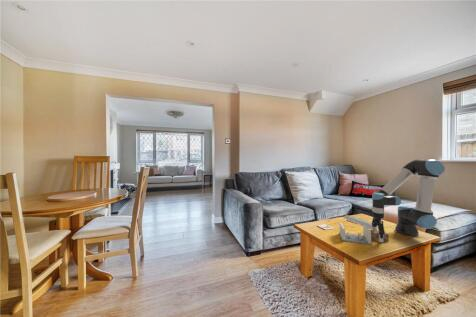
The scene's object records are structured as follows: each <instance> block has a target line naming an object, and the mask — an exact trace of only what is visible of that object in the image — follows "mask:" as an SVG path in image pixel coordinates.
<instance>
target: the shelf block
mask: <svg viewBox="0 0 476 317" xmlns="http://www.w3.org/2000/svg"><path fill="white" fill-rule="evenodd" d="M369 230H370V231H371V241H378V242H379V234H378V233H379V230H378V229H377V230H373V229H369ZM384 232H385V234H383V242H389V233H388V232H387V231H385V230H384Z"/></svg>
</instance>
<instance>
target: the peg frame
mask: <svg viewBox="0 0 476 317" xmlns="http://www.w3.org/2000/svg"><path fill="white" fill-rule="evenodd" d="M370 230H371V229H369V228H367V226H366V225H363V226H362V233H363V234H362V233H359V232H358V233H357V234H354V233H350V232H349V231H346V227H345V226H344V225H343V223H342V222H339V232H338V235H339V236H340V239H341V242H348V243H355V244H363V245H371V246H372V245H373V242H372V240H371V231H370Z"/></svg>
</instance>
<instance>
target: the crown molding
mask: <svg viewBox="0 0 476 317" xmlns="http://www.w3.org/2000/svg"><path fill="white" fill-rule="evenodd" d="M343 219H345V220H347V221H349V220H350V222H352V221H353V222H352V223H354V222H355V224H357V223H358V224H357V225H359V224H360V225H359V226H362V227H363V225H366V226H367V228H368V229H369V230H373V226H372V222H370V221H367V220H364V219H362V218H359V217H356V216H354V215H348V214H346V215H345V216H344V217H343ZM377 229H378V225H377Z"/></svg>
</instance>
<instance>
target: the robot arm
mask: <svg viewBox="0 0 476 317" xmlns="http://www.w3.org/2000/svg"><path fill="white" fill-rule="evenodd" d="M445 169H446V168H445V165H444V164H443V163H442V162H441V161H440V160H437V159H425V158H424V159H420V158H419V159H417V158H416V159H414V160H412V161H410V162H407V163H406V164H405V165H404V166H403V167H401V169H400V171H399V172H398V173H396V175H395V176H394V177H393V178H391V179H390V180H389V182H387V183H386V184H385V185H384V186H383V187H381V189H379V191H373V193H372V194H371V196H372V197H371V199H372V201H371V203H372V207H371V209H372V212H371V214H372V215H371V216H372V221H371V223H372V226H373V229H372V230H377V231H379V233H378V234H379V241H378V243H384V241H383V234H385V232H386V231H385V227H384V221H383V220H382V219H384V217H385V214H384V213H385V206H398V207H397V223H396V226H395V228H394V231H395V232H397V233H398V234H401V235H404V236H410V237H419V236H420V235H419V233H420V232H419V230H418V228H417V227H420V228H422V229H424V230H425V229H426V230H428V229H429V230H430V229H432V228H435V226H436V225H437V222H438V221H437V218H436V217H435V216H434V211H433V210H432V206H433V205H432V204H433V199H434V191H435V186H436V185H435V184H436V180H437V179H439V177H440V175H442V174H444V172H445ZM415 175H417V176H418V177H419V182H418V190H417V196H416V204H415V206H412V205H411V206H410V205H401V203H402V199H401V198H400V196H399V195H391V194H393V193H394V192H395V191H397V189H398V188H399V187H401V186H402V185H403V184H404V183H405V182H406V181H407V180H408V179H409V178H410V177H414V176H415ZM377 225H378V228H377ZM384 231H385V232H384Z"/></svg>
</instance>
